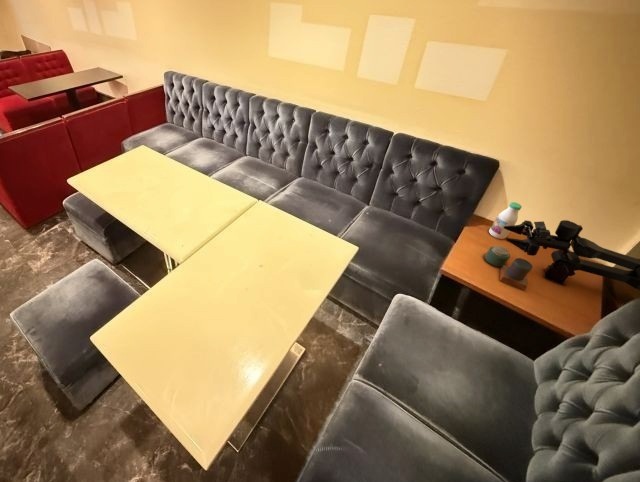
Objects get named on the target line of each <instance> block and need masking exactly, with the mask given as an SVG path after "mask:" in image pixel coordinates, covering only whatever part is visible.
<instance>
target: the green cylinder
mask: <svg viewBox="0 0 640 482" xmlns="http://www.w3.org/2000/svg"><path fill="white" fill-rule="evenodd" d="M510 258H511V254H510V252H509V250H508V249H507V248H505V247H503V246H501V245H492V246H490V247H489V249H488V250H487V252H486V253H485V255H484V256H483V259H484V261H485V263H487V264H488V265H490V266H491V267H494V268H497V269H499V268H500V269H501V268H502V266H503V265H506V263H508V261H509V259H510Z"/></svg>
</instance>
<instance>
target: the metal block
mask: <svg viewBox="0 0 640 482" xmlns="http://www.w3.org/2000/svg"><path fill="white" fill-rule="evenodd" d="M509 267H510V265H506V264H505V265H503V266H502V267H501V268H500V271H499V272H500V275H499V282H502V283H504V284H507V285H509V286H512V287H514V288H517V289H519V290H522V291H524V290H525V289H526V288H527V286H528V277H527V276H528V274H527V275H526V276H525V278H524V279H523V280H516V279H513V278H511V277H510V276H509V275H508V274H507V270H508V268H509Z"/></svg>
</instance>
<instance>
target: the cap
mask: <svg viewBox="0 0 640 482" xmlns="http://www.w3.org/2000/svg"><path fill="white" fill-rule="evenodd" d="M533 267H534V266H533V264H532V263H531V262H530V261H528V260H527V259H524V258H520V257H516V258H515V259H514V260H513V262H511V264H510V265H509V268H508V270H507V274H508V275H509V276H510V277H511V278H513V279H516V280H523V279H524V278H525V276H526V275H527V276H528V274H529V273H530V271H532V269H533Z"/></svg>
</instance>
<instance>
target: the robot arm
mask: <svg viewBox="0 0 640 482" xmlns="http://www.w3.org/2000/svg"><path fill="white" fill-rule="evenodd" d="M583 228H584V227H583V226H582V225H580V224H577V222H576V223H575V222H573V221H570V220H568V219H563V220H560V222H559V223H558V226H557V228H555V231H554V234H555V235H554V234H551V230H550V229H547V225H546V224H545V221H544V220H543V221H542V220H541V221H534V222H532V221H531V220H525V219H524V221H522V222H521V223H520V224H515V225H514V226H504V229H506V230H509V231H510V232H511V233H514V234H517V235H520V236H522V235H523V236H525V237H526V238H525V239H518V238H510V237H509V238H508V237H506V238H505V239H506V242H508V243H510V244H511V245H513V246H514V247H516V248H518V249H520V250H521V251H522V252H524V253H525V254H526V255H527V256H532V257H533V256H537V254H538V252H539V251H540V247H542V249H543V250H547V249H553V250H554V251H552V252H551V254H550V256H551V259H552V263H551V264H549V265H547V266H546V268H545V269H544V270H543V274H544V278H545V279H546V280H548V281H551V282H554V283H557V284H559V285H562V286H564V285H565V281H566V280H567V279H568V278H569V277H573V276H575V275H576V272H575V271H582V272H585V273H589V274H591V275H596V276H599V277H604V278H607V279H611V280H614V281H617V282H622V283H625V284H627V285H628V286H630V287H632V288H634V289H635V290H638V291H640V258H636V257H632V256H630V255H627V254H624V253H621V252H618V251H614V250H611V249H608V248H604V247H603V246H600V245H599V244H597V243H596V242H594V241H592V240H589V239H587V238H584V237H582V236H580V233H581V232H582V231H583ZM570 248H571V249H572V251H571V250H570ZM580 257H581V258H580ZM583 258H585V259H583ZM587 259H597V260H601V261H604V262H607V263H610V264H614V265H616V266H619V267H621V268H624V269H621V268H618V267H614V266H610V265H607V264H602V263H598V262H594V261H590V260H587ZM626 269H629V270H626Z"/></svg>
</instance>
